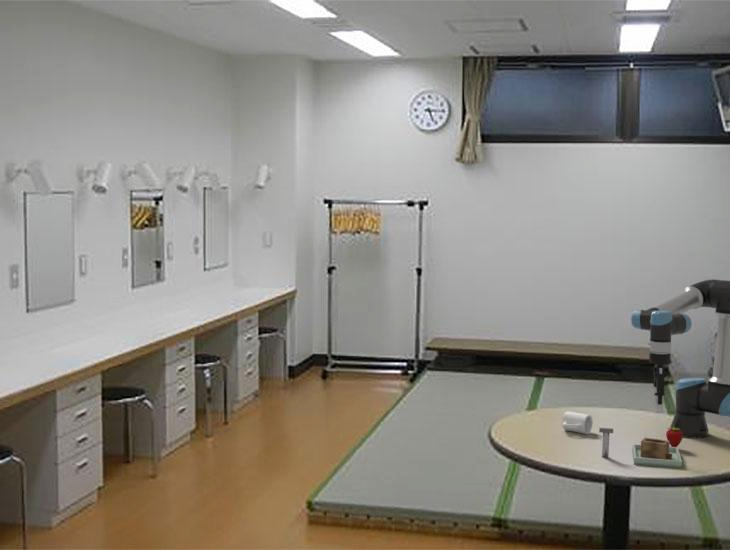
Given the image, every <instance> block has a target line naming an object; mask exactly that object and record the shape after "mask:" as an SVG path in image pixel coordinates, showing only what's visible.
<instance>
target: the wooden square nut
mask: <svg viewBox="0 0 730 550" xmlns="http://www.w3.org/2000/svg"><path fill="white" fill-rule="evenodd" d="M640 445H641V455H640V457H646V458H652V459H664V460H666V459H669V460H671V459H672V454H669V447H670V441H668V440H667V439H666V440H665V439H658V438H652V437H644V438H643V439H642V440H640Z"/></svg>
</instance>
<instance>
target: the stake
mask: <svg viewBox="0 0 730 550" xmlns="http://www.w3.org/2000/svg"><path fill="white" fill-rule="evenodd" d="M598 429H599V431H598V432H599V433H602V444H601V445H602V449H601V458H604V459H608V458H609V457H610V455H609V454H610V434H614V428H609V427H599V428H598Z"/></svg>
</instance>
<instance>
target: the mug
mask: <svg viewBox="0 0 730 550" xmlns="http://www.w3.org/2000/svg"><path fill="white" fill-rule="evenodd" d="M593 421H594V420H593V418H592V415H591V414H586V413H582V412H581V413H580V412H574V411H565V412H564V414H563V417H562V421H561V424H562V428H563V430H564V431H568V432H573V433H576V434H577V433H578V434H583V435H588V434H590V433H591V431H592V429H593Z"/></svg>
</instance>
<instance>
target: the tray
mask: <svg viewBox="0 0 730 550" xmlns="http://www.w3.org/2000/svg"><path fill="white" fill-rule="evenodd" d="M631 447H632V449H631V450H632V451H631V452H632V458H633V459H632V460H633V465H637V466H647V467H649V466H650V467H661V468H663V467H664V468H675V469H676V468H677V469H682V468H683V467H682V466H683V460H682V457H681V454H680V450H679V448H678V446H677V447H672V446H669V454H672V459H671V460H669V459H666V460H664V459H652V458H646V457H640V455H641V444H638V443H637V444H636V443H632V445H631Z"/></svg>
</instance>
